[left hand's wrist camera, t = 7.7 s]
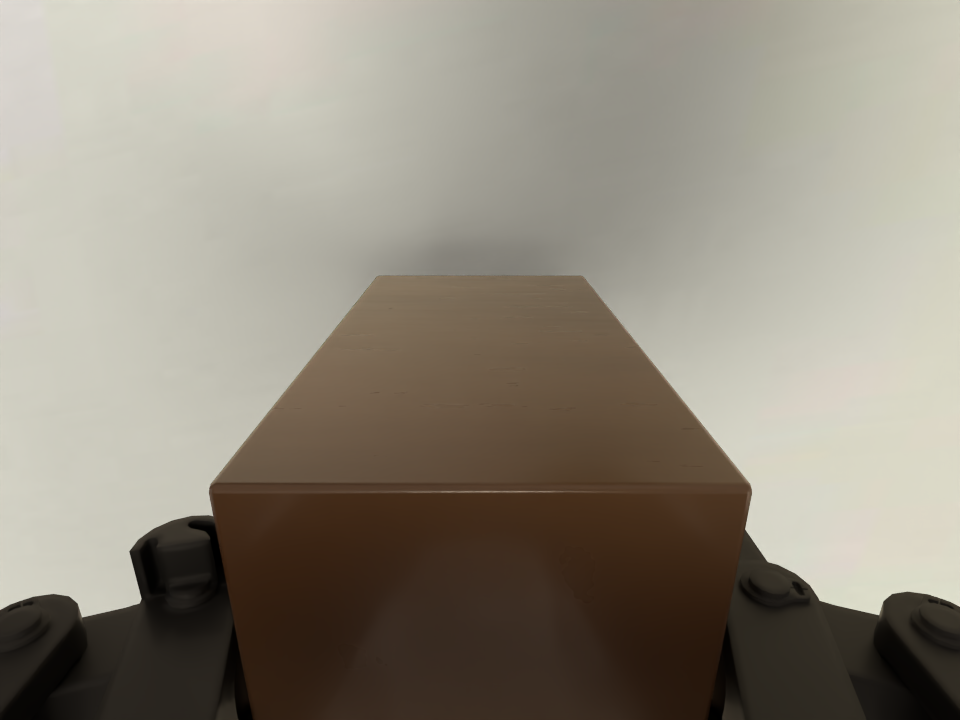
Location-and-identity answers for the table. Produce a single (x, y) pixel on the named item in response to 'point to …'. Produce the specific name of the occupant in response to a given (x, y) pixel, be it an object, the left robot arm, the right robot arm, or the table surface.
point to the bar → (480, 518)
